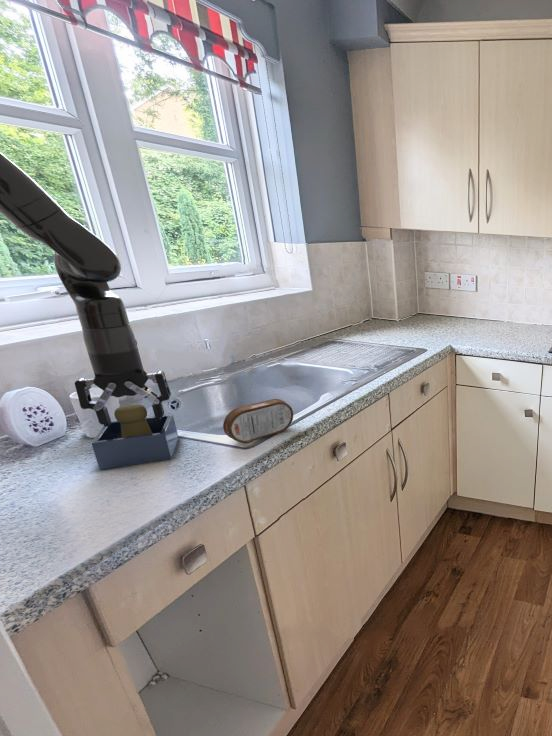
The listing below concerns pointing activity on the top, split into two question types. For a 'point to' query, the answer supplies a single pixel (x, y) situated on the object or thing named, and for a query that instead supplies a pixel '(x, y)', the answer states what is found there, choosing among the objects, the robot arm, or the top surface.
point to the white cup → (93, 412)
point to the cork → (132, 420)
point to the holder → (135, 444)
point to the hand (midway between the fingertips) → (134, 422)
